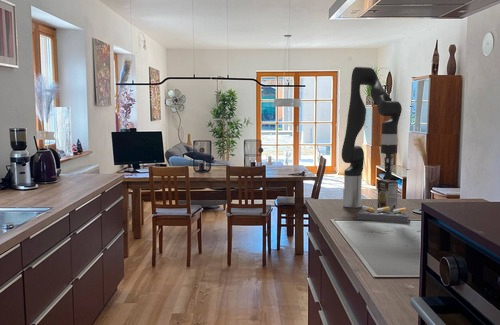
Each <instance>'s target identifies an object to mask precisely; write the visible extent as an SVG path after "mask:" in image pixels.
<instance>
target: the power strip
mask: <svg viewBox="0 0 500 325" xmlns="http://www.w3.org/2000/svg"><path fill="white" fill-rule="evenodd" d="M356 217H357V218H356V219H357V220H359V221H360V220H361V221H369V222H370V221H372V222H384V223H386V222H387V223H398V224H399V223H400V224H408V223H409V220H410V213H409V212H401V213H398V212H397V213H394V212H382V211H380V212H377V210H374V211H373V212H372V211H366V209H359V210H358V212H357V213H356Z"/></svg>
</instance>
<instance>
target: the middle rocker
mask: <svg viewBox="0 0 500 325" xmlns="http://www.w3.org/2000/svg"><path fill="white" fill-rule="evenodd" d="M389 209H390V208H389V207H384V208H378V207H377V209H376V211H377V212H380V211H382V212H385V210H389Z"/></svg>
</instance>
